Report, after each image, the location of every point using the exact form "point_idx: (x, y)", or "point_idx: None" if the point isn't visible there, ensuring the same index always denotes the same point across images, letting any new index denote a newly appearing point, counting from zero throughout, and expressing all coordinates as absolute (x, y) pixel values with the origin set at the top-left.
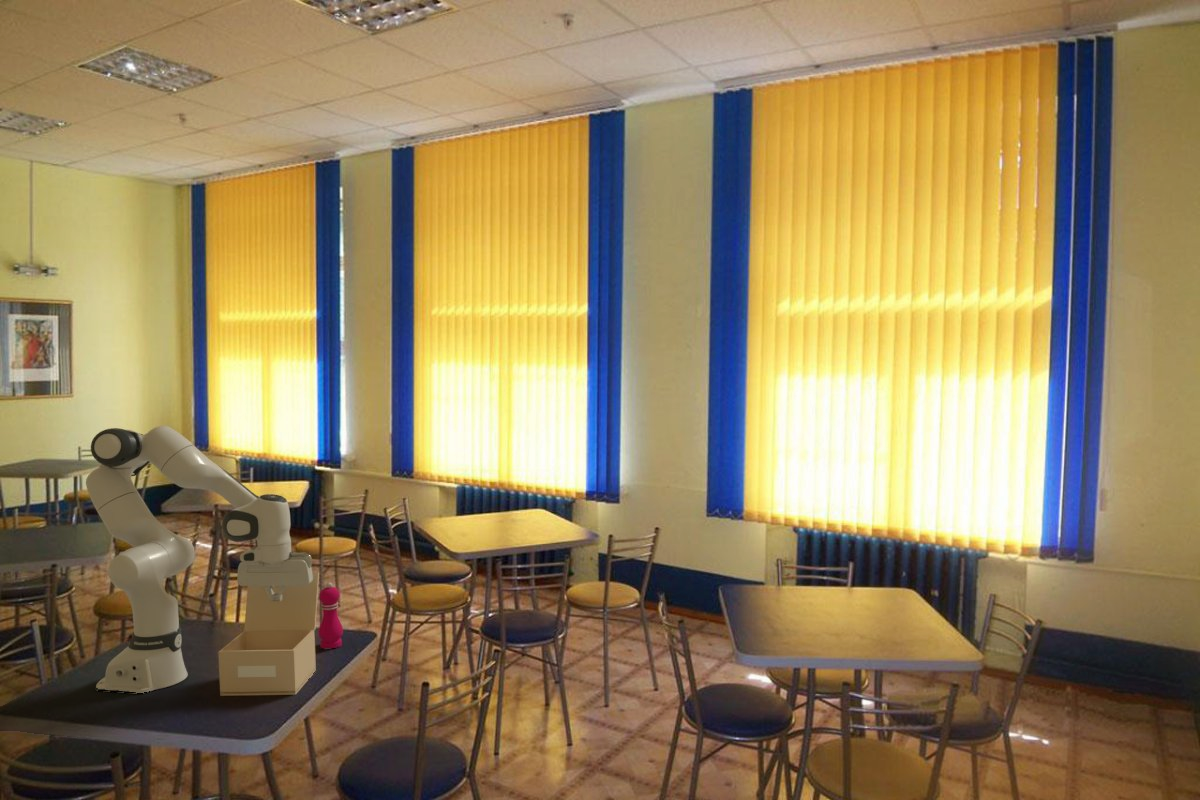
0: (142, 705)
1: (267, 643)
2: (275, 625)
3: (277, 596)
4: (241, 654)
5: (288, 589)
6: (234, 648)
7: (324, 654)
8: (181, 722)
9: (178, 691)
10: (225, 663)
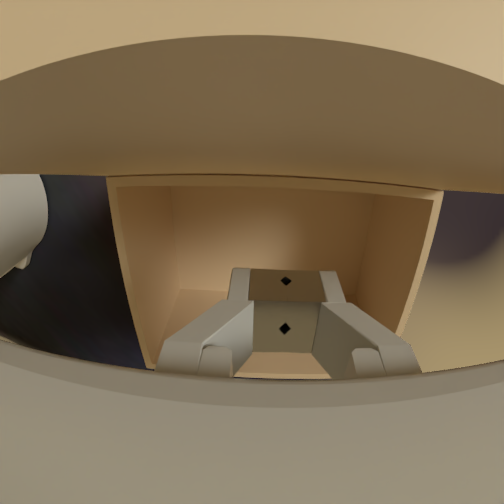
0: (62, 309)
1: None
2: (256, 173)
3: (308, 344)
4: None
5: (392, 157)
6: (143, 270)
7: None
8: None
9: (75, 257)
10: None
